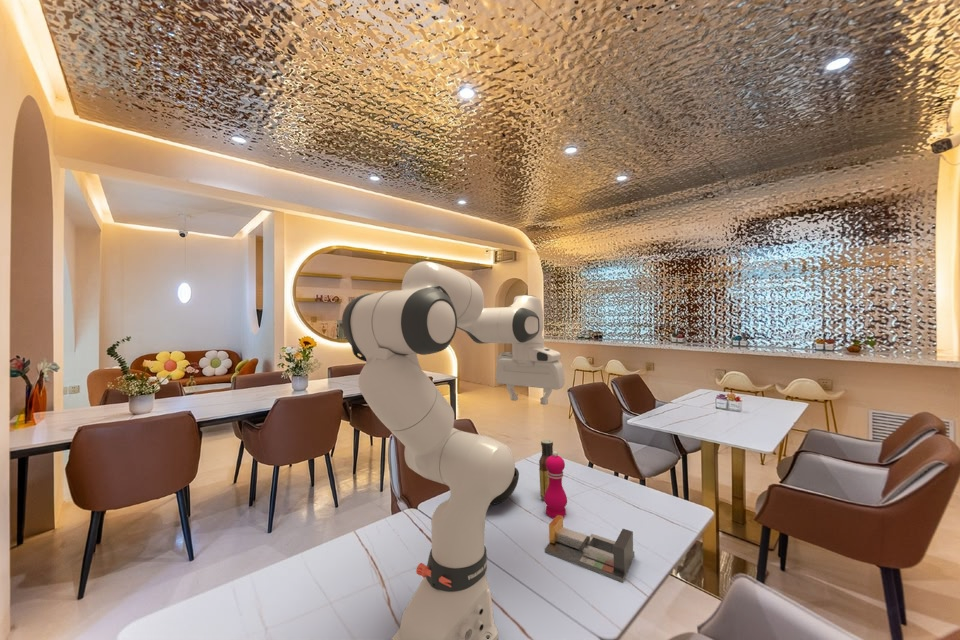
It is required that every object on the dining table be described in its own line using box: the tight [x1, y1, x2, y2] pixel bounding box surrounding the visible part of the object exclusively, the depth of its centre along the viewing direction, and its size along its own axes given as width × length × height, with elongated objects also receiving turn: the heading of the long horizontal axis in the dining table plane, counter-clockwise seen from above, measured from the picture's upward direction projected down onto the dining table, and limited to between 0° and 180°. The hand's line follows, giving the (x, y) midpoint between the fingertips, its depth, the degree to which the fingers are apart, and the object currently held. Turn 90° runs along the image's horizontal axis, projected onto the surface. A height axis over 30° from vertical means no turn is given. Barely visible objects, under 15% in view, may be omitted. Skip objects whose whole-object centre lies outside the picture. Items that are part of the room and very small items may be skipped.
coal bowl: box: [489, 467, 520, 505], centre depth 126 cm, size 20×20×19 cm
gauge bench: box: [544, 528, 635, 583], centre depth 97 cm, size 12×20×7 cm, turn 55°
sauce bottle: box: [538, 439, 554, 501], centre depth 127 cm, size 7×6×20 cm
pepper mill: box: [543, 450, 568, 519], centre depth 117 cm, size 7×7×20 cm
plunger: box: [548, 515, 593, 552], centre depth 98 cm, size 9×11×5 cm
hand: (528, 402), depth 103 cm, fingers open, 8 cm apart
